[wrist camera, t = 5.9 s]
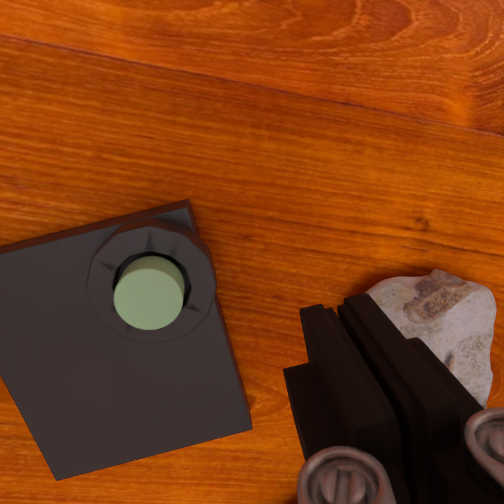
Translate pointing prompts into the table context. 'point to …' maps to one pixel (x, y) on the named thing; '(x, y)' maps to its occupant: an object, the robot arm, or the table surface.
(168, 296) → the button
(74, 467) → the grey push button base
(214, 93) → the table surface
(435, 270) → the stone
